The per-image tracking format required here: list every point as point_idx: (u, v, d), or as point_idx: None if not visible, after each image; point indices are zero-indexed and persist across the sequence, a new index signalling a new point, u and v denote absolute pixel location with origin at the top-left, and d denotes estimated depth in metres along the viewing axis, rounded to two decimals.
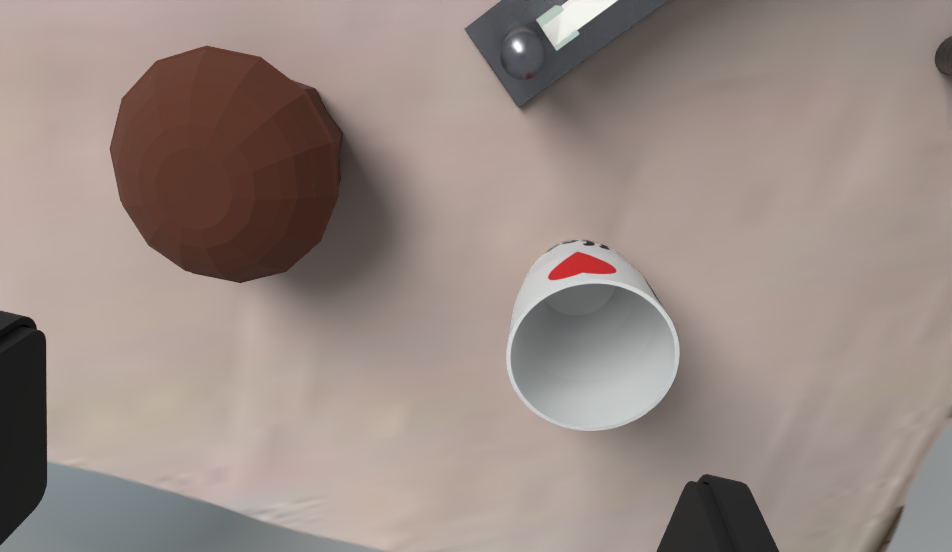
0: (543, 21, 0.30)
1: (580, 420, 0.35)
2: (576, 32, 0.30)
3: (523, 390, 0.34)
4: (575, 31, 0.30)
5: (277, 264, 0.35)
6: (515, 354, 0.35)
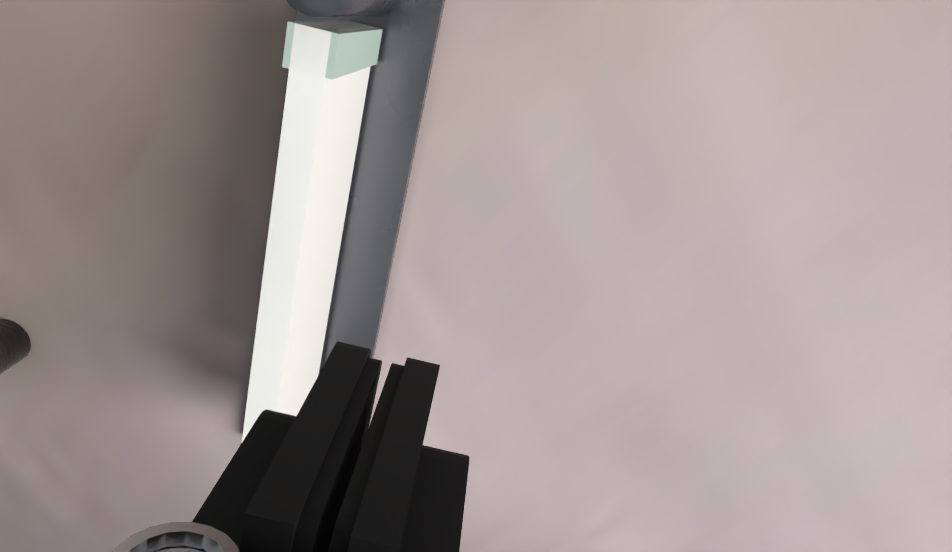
0: (335, 41, 0.18)
1: None
2: (287, 65, 0.19)
3: None
4: (289, 65, 0.19)
5: None
6: None
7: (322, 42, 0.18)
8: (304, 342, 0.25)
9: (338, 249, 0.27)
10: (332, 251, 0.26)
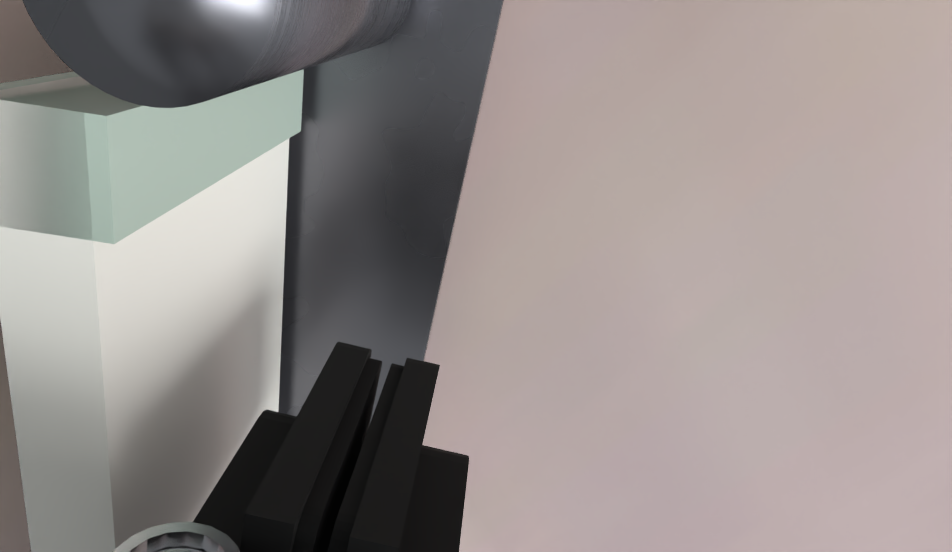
0: (101, 139, 0.06)
1: None
2: None
3: None
4: None
5: None
6: None
7: (64, 144, 0.06)
8: None
9: None
10: None
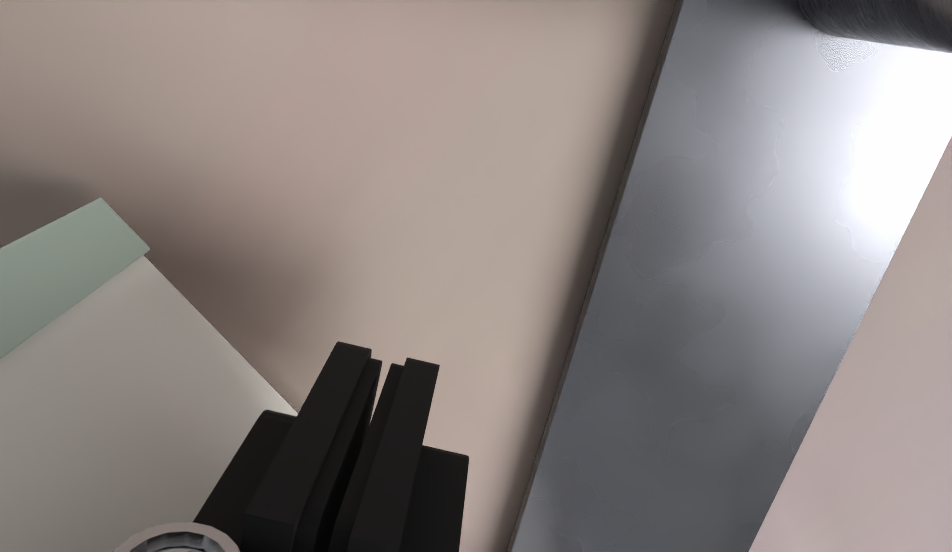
0: None
1: None
2: None
3: None
4: None
5: None
6: None
7: None
8: None
9: None
10: None
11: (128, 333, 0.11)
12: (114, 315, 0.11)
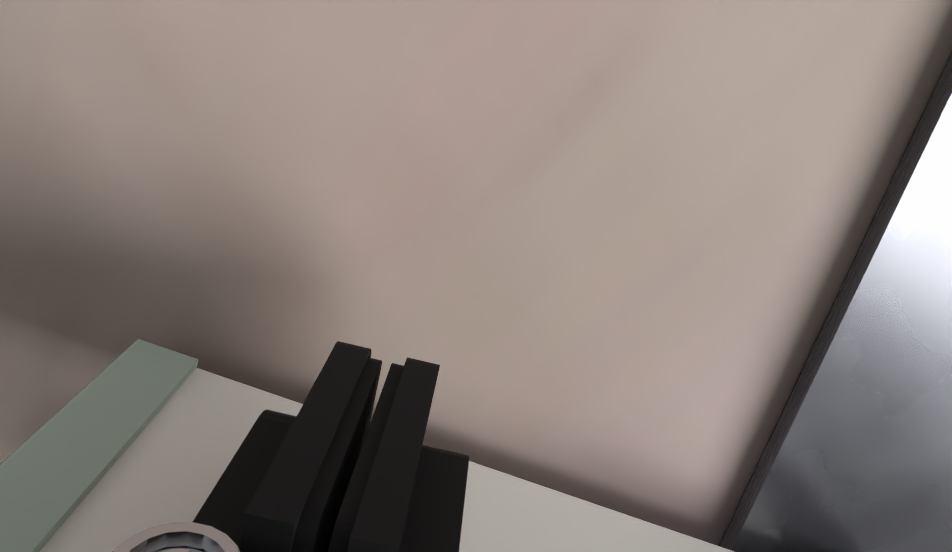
0: None
1: None
2: None
3: None
4: None
5: None
6: None
7: None
8: None
9: (532, 490, 0.14)
10: (519, 523, 0.13)
11: (200, 434, 0.12)
12: (182, 425, 0.12)
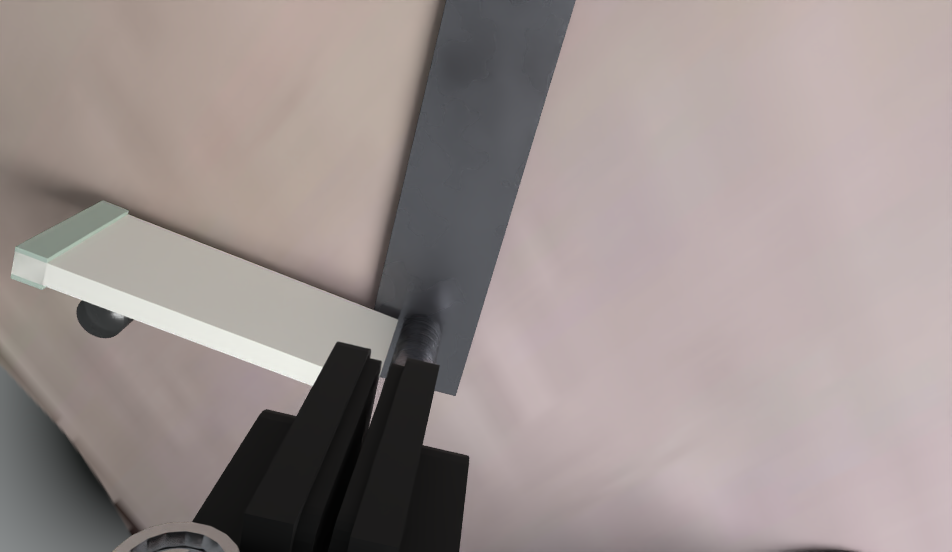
0: (20, 250, 0.26)
1: None
2: (40, 286, 0.26)
3: None
4: (40, 284, 0.26)
5: None
6: None
7: (22, 258, 0.26)
8: (306, 325, 0.29)
9: (274, 274, 0.32)
10: (260, 280, 0.31)
11: (126, 234, 0.30)
12: (119, 230, 0.30)
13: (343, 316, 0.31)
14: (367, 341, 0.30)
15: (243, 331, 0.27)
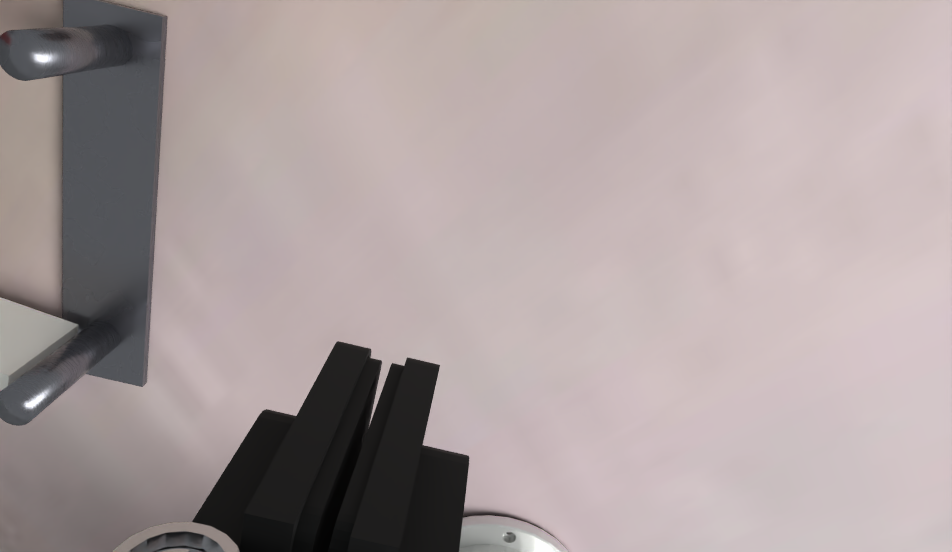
0: None
1: None
2: None
3: None
4: None
5: None
6: None
7: None
8: None
9: None
10: None
11: None
12: None
13: (20, 322, 0.39)
14: (29, 341, 0.38)
15: None
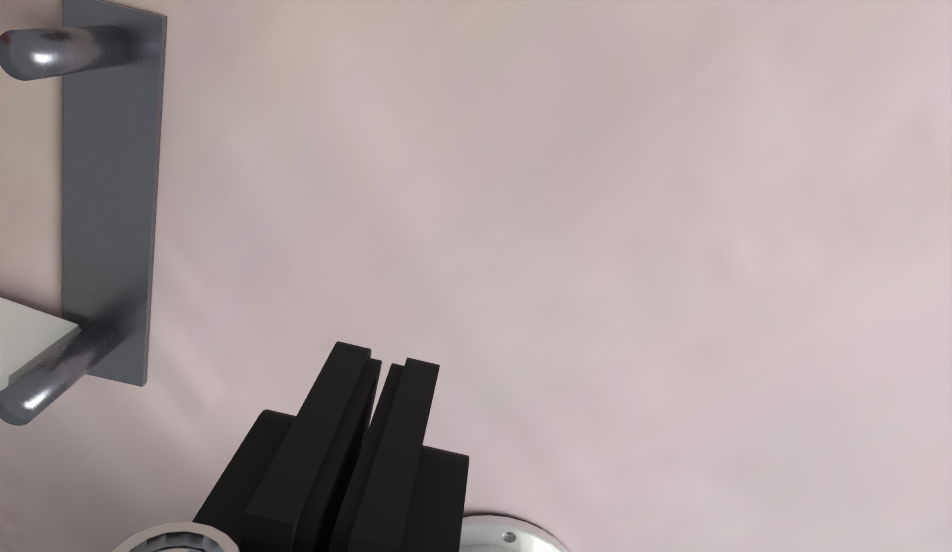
0: None
1: None
2: None
3: None
4: None
5: None
6: None
7: None
8: None
9: None
10: None
11: None
12: None
13: (20, 322, 0.39)
14: (29, 341, 0.38)
15: None
